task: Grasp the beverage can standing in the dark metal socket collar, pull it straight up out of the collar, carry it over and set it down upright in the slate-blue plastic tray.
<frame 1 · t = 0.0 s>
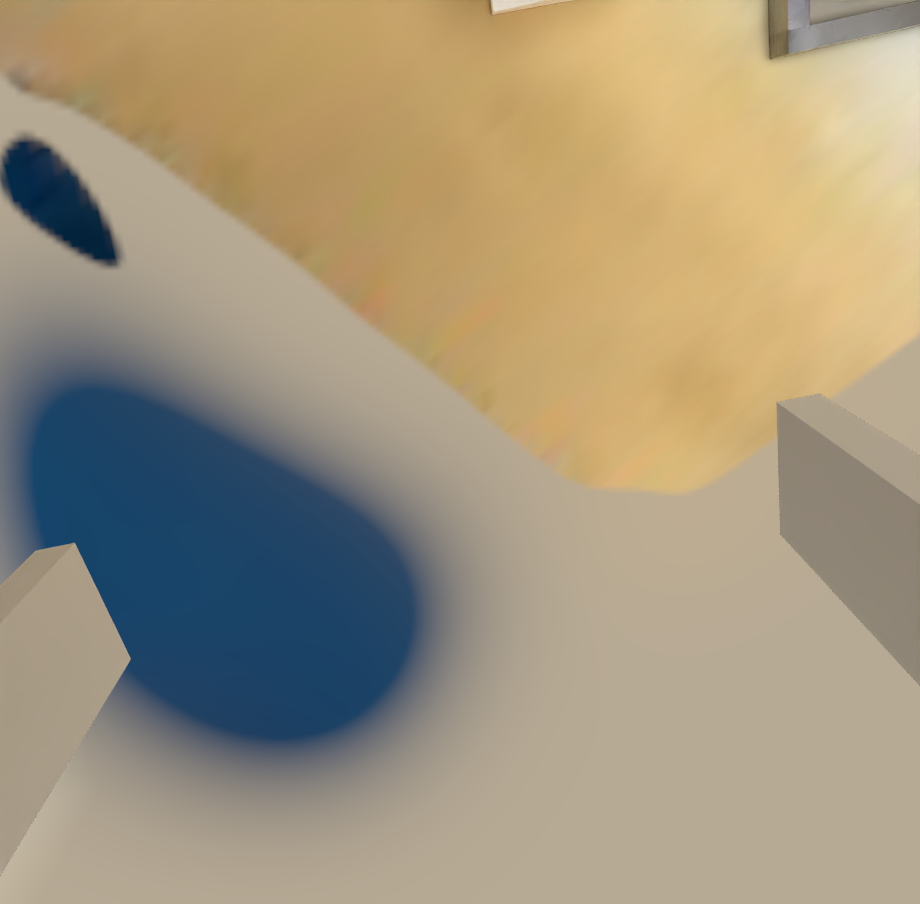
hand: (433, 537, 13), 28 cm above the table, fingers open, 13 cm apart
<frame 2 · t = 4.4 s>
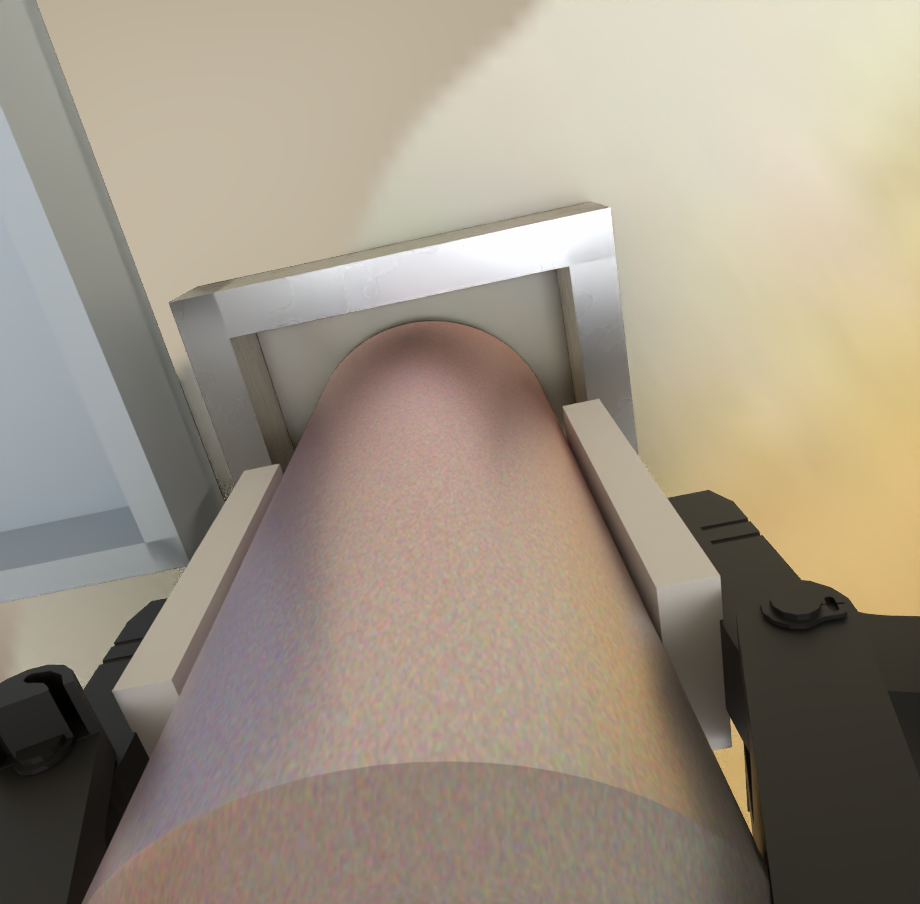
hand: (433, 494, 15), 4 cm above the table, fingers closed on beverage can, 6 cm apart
beverage can: (434, 425, 19), resting in socket collar, touching gripper
socket collar: (434, 428, 18), on the table
when the fingers open (6 cm above the table, at t = 11.3 s): beverage can drops 1 cm, resting on tray.
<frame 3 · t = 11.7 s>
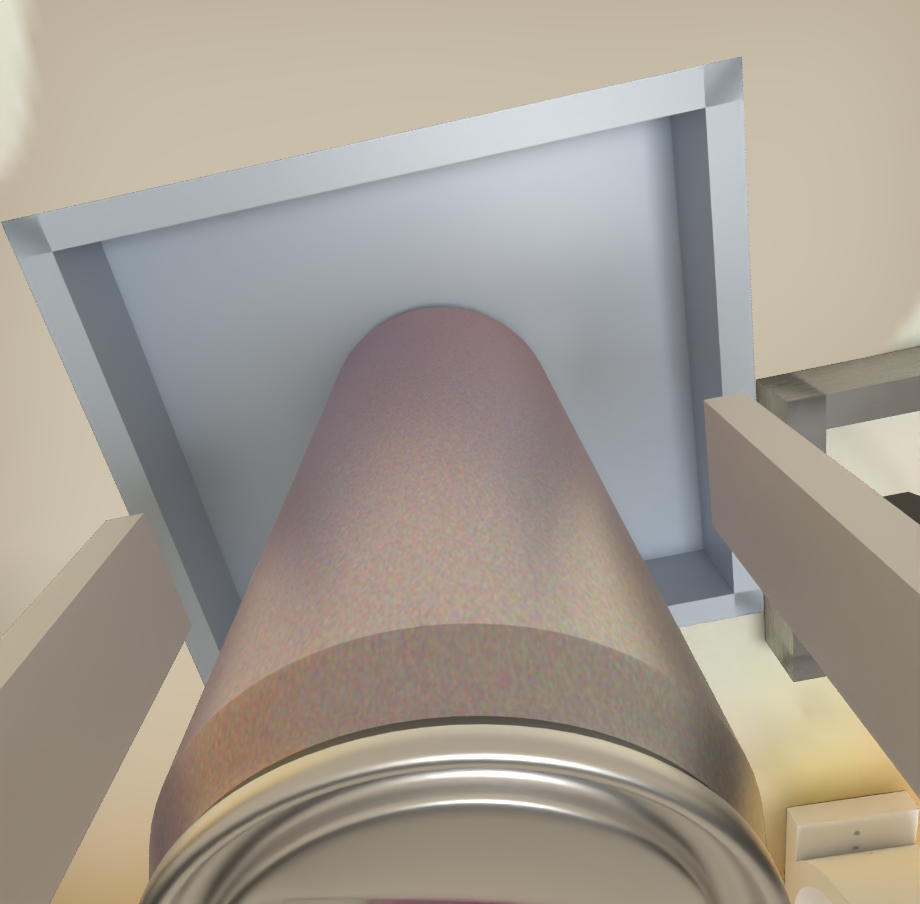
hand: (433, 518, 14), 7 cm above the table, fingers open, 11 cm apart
tray: (433, 403, 20), on the table
beverage can: (442, 406, 20), resting on tray
white curved strip: (840, 830, 28), on the table
socket collar: (913, 492, 22), on the table
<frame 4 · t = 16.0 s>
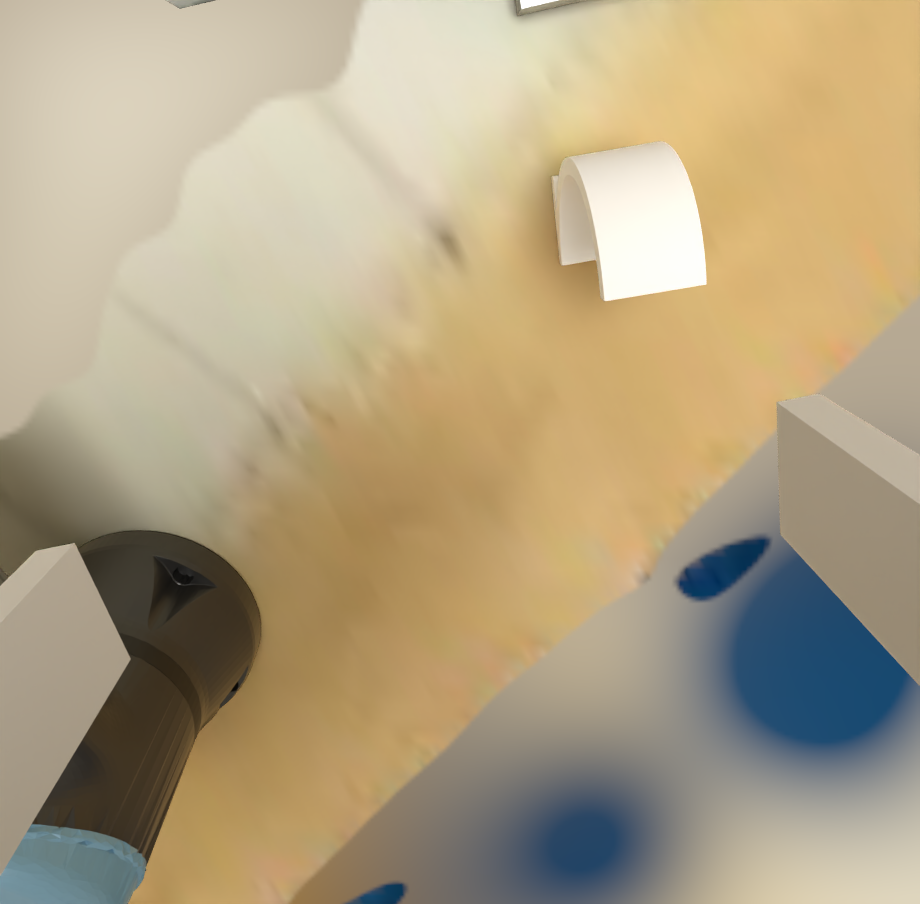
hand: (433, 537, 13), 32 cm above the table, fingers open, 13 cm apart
white curved strip: (592, 205, 41), on the table
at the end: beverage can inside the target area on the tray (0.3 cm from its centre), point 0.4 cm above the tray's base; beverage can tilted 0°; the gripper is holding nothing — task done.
